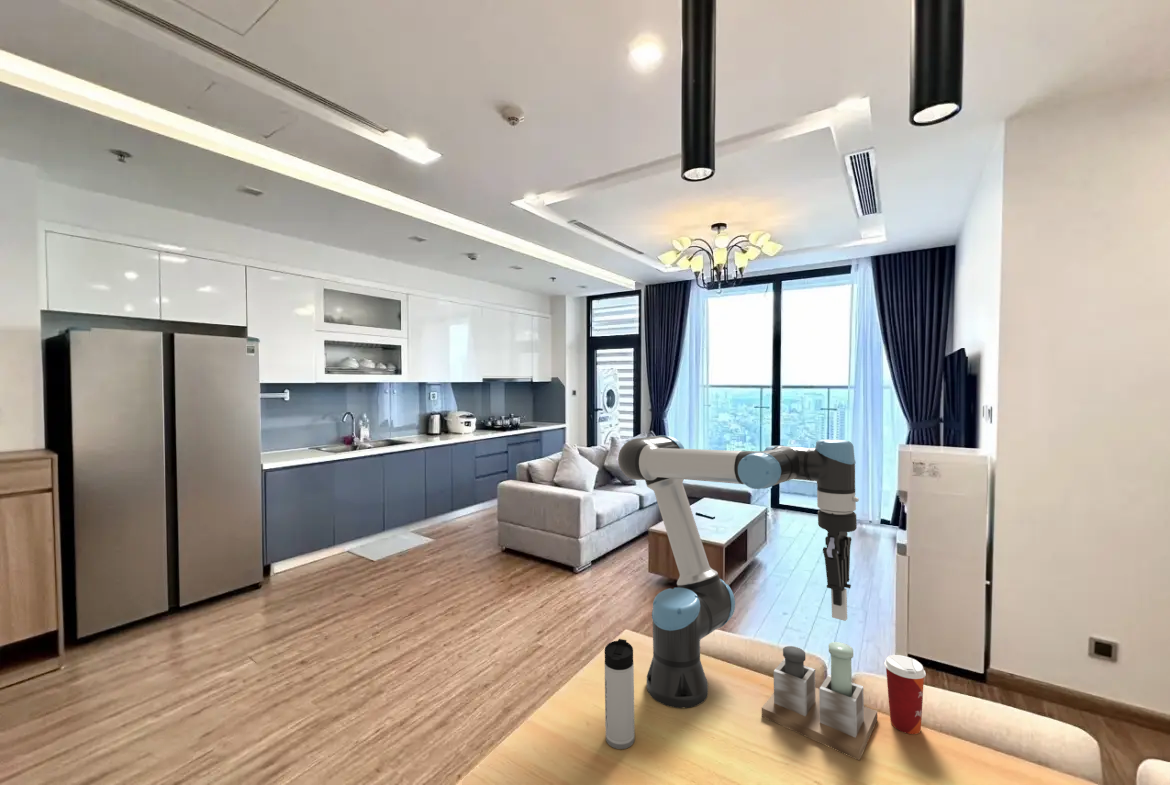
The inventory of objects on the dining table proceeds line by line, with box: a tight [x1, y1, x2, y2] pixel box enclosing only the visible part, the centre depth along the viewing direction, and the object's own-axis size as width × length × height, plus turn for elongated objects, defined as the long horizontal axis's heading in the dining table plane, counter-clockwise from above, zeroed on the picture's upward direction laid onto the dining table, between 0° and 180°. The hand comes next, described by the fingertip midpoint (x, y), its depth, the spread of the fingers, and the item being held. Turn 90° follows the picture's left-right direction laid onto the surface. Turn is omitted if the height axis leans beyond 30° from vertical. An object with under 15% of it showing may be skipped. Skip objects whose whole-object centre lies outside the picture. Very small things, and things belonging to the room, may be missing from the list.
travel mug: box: [604, 638, 636, 750], centre depth 104 cm, size 6×7×20 cm
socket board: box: [761, 657, 878, 761], centre depth 109 cm, size 20×16×10 cm
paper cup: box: [883, 654, 927, 735], centre depth 107 cm, size 8×8×14 cm
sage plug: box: [828, 641, 854, 697], centre depth 105 cm, size 5×5×11 cm
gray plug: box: [782, 645, 806, 679], centre depth 112 cm, size 5×5×11 cm
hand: (839, 617), depth 105 cm, fingers closed
